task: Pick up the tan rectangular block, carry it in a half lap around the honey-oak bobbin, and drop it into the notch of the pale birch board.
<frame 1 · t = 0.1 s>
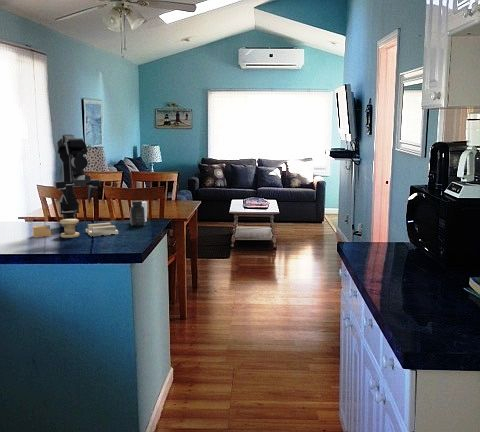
hand: (78, 203, 244), 15 cm above the worktop, tool pointing down, fingers open, 9 cm apart
white cup: (140, 222, 283), on the worktop
bobbin: (70, 235, 247), on the worktop
tan rectangular block: (42, 236, 248), on the worktop
notched board: (101, 233, 253), on the worktop
supplement bottle: (137, 225, 272), on the worktop
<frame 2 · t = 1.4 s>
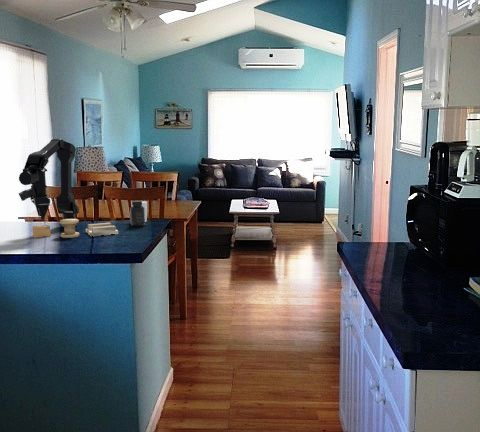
hand: (41, 217, 246), 8 cm above the worktop, tool pointing down, fingers open, 9 cm apart
nothing on the worktop moved.
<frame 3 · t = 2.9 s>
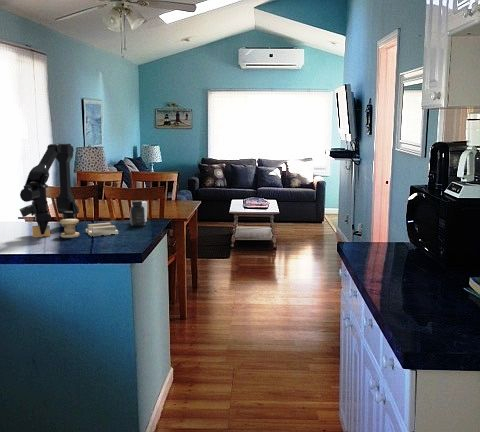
hand: (42, 233, 248), 1 cm above the worktop, tool pointing down, fingers closed on tan rectangular block, 3 cm apart
tan rectangular block: (41, 236, 248), on the worktop, touching gripper
everything else where it was.
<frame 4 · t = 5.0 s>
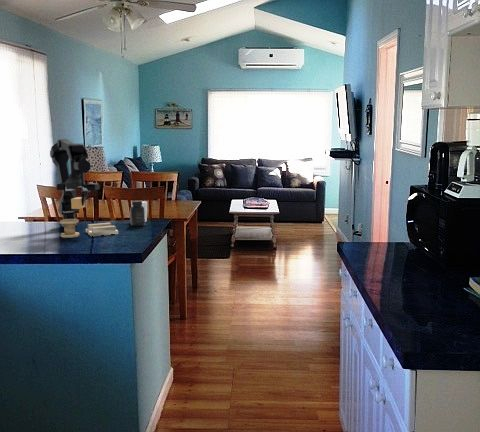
hand: (79, 205, 256), 12 cm above the worktop, tool pointing down, fingers closed on tan rectangular block, 3 cm apart
tan rectangular block: (78, 207, 256), point 11 cm above the worktop, touching gripper
everything else where it was.
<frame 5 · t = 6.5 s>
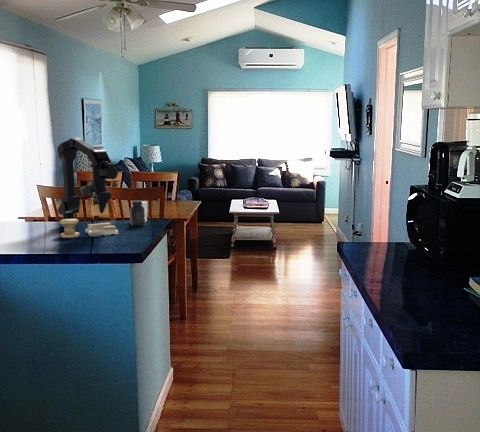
hand: (100, 212, 252), 9 cm above the worktop, tool pointing down, fingers closed on tan rectangular block, 3 cm apart
tan rectangular block: (99, 214, 252), point 8 cm above the worktop, touching gripper
everything else where it was.
when the fingers open (4 cm above the worktop, at t = 7.6 s): tan rectangular block drops 2 cm, resting on notched board.
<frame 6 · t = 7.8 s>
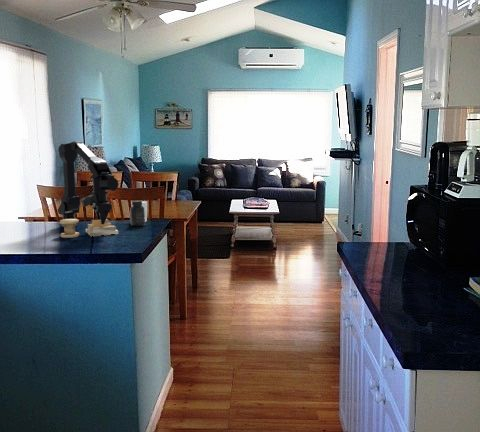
hand: (101, 223, 253), 4 cm above the worktop, tool pointing down, fingers open, 6 cm apart
tan rectangular block: (100, 229, 253), point 1 cm above the worktop, touching notched board
everything else where it was.
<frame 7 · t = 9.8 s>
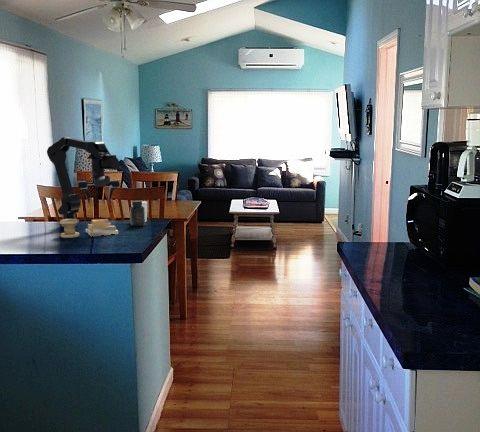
hand: (99, 202, 261), 13 cm above the worktop, tool pointing down, fingers open, 9 cm apart
nothing on the worktop moved.
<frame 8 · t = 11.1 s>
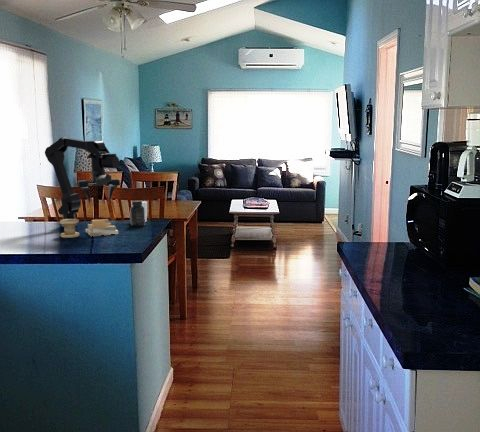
hand: (99, 201, 262), 13 cm above the worktop, tool pointing down, fingers open, 9 cm apart
nothing on the worktop moved.
at the end: tan rectangular block inside the target area on the notched board (0.4 cm from its centre), point 1.5 cm above the notched board's base; the gripper is holding nothing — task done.
